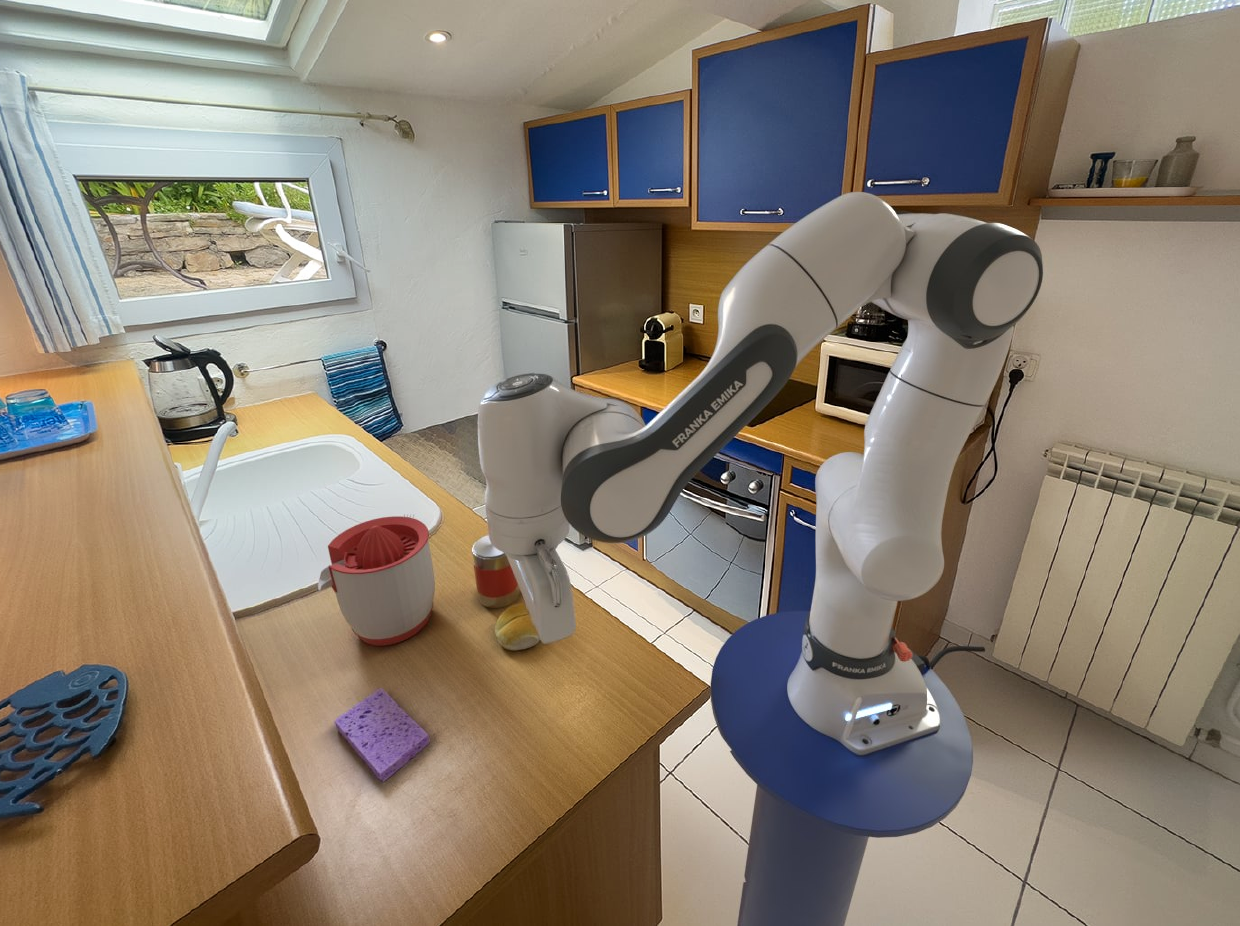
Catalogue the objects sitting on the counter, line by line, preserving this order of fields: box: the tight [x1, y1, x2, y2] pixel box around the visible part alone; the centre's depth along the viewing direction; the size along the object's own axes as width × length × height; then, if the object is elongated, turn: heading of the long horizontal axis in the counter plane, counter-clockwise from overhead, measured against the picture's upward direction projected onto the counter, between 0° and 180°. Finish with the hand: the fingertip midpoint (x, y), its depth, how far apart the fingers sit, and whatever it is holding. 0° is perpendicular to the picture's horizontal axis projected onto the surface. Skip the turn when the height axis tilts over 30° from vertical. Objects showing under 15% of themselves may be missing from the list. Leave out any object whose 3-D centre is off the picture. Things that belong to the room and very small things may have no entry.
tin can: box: [471, 534, 521, 609], centre depth 100 cm, size 8×8×11 cm
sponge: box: [333, 687, 431, 783], centre depth 75 cm, size 7×13×2 cm, turn 53°
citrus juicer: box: [317, 515, 436, 646], centre depth 91 cm, size 16×17×20 cm
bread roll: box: [494, 602, 541, 651], centre depth 92 cm, size 8×9×4 cm
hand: (536, 616), depth 65 cm, fingers closed
